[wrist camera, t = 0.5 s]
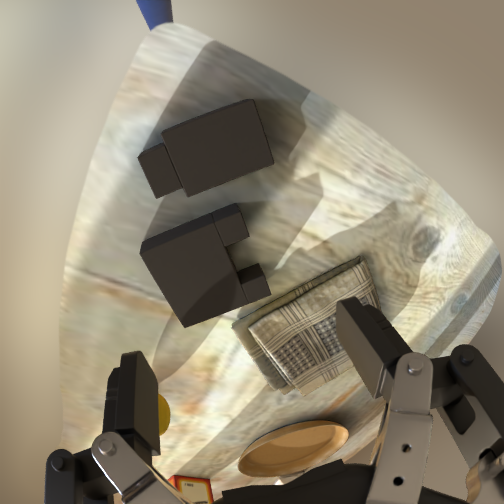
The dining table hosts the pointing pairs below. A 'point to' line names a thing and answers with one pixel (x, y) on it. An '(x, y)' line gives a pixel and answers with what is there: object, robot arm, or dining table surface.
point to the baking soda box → (193, 488)
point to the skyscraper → (287, 478)
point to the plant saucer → (292, 448)
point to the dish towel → (305, 330)
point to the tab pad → (207, 151)
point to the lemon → (163, 414)
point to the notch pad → (203, 267)
